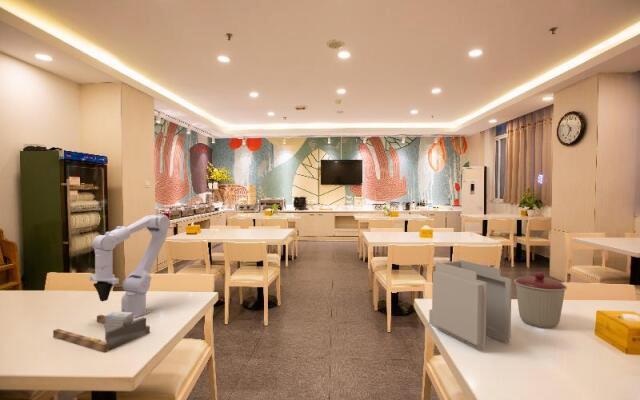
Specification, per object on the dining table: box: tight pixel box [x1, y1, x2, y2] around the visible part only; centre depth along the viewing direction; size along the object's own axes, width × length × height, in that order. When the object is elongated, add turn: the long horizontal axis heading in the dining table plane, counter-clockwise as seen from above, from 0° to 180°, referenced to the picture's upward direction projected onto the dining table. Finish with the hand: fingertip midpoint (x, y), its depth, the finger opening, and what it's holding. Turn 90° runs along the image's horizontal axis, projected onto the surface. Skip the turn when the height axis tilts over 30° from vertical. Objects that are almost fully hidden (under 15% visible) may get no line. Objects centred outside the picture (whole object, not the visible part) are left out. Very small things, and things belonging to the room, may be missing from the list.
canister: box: [513, 271, 568, 329], centre depth 136 cm, size 18×18×21 cm
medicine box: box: [104, 311, 134, 340], centre depth 120 cm, size 8×4×9 cm, turn 85°
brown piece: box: [52, 314, 151, 353], centre depth 122 cm, size 28×17×7 cm, turn 67°
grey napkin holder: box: [428, 259, 513, 350], centre depth 125 cm, size 17×27×26 cm, turn 25°
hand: (104, 300), depth 130 cm, fingers closed
